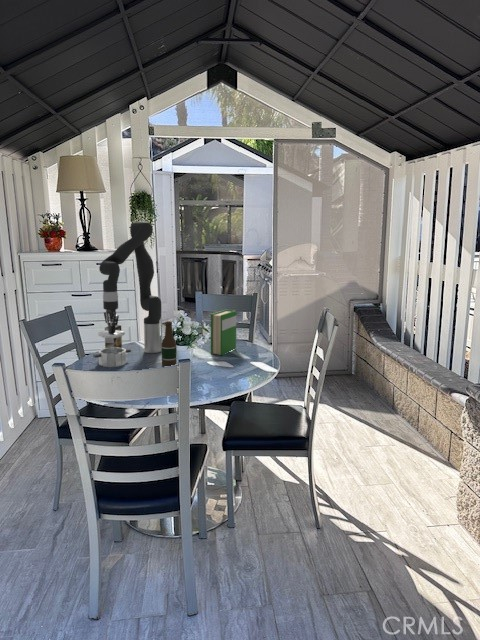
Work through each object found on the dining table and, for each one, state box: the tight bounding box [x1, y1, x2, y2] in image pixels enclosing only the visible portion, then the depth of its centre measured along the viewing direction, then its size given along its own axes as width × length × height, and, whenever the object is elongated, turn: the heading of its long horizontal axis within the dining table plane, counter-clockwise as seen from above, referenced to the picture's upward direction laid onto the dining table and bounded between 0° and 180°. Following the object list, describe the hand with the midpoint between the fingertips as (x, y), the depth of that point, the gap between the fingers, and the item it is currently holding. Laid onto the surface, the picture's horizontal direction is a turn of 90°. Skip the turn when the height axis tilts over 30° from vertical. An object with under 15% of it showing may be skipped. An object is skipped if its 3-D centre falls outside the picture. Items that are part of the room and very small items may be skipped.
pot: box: [92, 347, 132, 368], centre depth 246 cm, size 20×14×7 cm
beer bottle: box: [161, 320, 178, 368], centre depth 241 cm, size 8×8×24 cm
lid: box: [97, 324, 126, 339], centre depth 243 cm, size 14×14×7 cm
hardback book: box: [210, 309, 237, 356], centre depth 271 cm, size 18×7×24 cm, turn 153°
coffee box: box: [104, 324, 123, 348], centre depth 264 cm, size 9×6×16 cm
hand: (111, 332), depth 244 cm, fingers closed on lid, 3 cm apart
